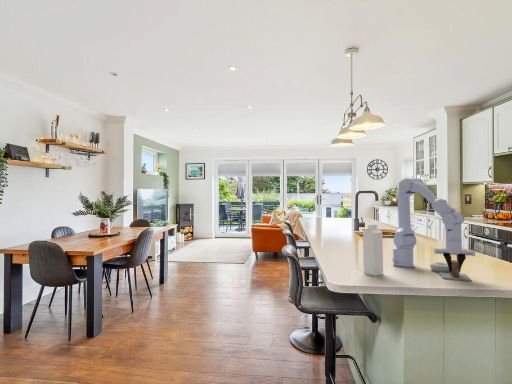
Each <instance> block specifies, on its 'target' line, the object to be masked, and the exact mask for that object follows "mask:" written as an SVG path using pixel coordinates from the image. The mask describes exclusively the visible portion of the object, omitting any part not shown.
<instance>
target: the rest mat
mask: <svg viewBox="0 0 512 384" xmlns="http://www.w3.org/2000/svg"><path fill="white" fill-rule="evenodd" d="M438 274H439V275H440V277H441V279H442V280H451V281H462V282H463V281H464V282H473V281H472V279H471V278H470V277H469V276H468V275H467V274H466V273H459V278H457V277H452V276H451V275H450V273H446V272H438Z"/></svg>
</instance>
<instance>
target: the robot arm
mask: <svg viewBox="0 0 512 384" xmlns="http://www.w3.org/2000/svg"><path fill="white" fill-rule="evenodd" d="M416 193H418V194H420V195H421V196H422V197H423V198H425V199H426V200H427V201H428V202H429V203H431V209H433V211H435V212H436V214H438V215H439V216H440V217H441V221H442V224H444V228H445V248H433V254H435V255H437V254H439V255H441V254H442V255H443V257H444V259H445V263H447V264H448V268H449V271H450V272H452V267H451V260H452V256H451V255H453V256H455V255H456V261H457V262H458V263H459V273H461V270H462V265H463V264H464V262H465V260H466V259H467V256H472V257H475V256H476V251H475V250H468V249H463V244H462V243H463V242H462V239H463V238H462V237H463V235H462V225H463V223H465V216H464V214H463V212H461V211H458V210H456V209H455V208H454V207H452V206H451V205H450V204H448V200H447V199H443V198H438V197H437V196H436V194H435V193H434V192H433V191H432V190H431V189H430V188H429V187H428V186H427V185H426V182H424V181H423V180H422V179H421V178H407V177H406V178H402V179H401V180H400V181H398V191H397V196H396V197H397V198H396V199H397V217H398V219H397V220H398V229H396V230H395V232H394V237H393V244H394V246H395V247H392V255H393V256H392V263H393V266H394V267H403V268H404V267H406V268H415V267H416V266H415V263H414V248H415V246H416V245H417V238H416V236H415V231H414V230H413V229H412V225H411V224H412V223H411V221H412V220H411V204H410V201H411V200H410V198H411V197H412V196H414V194H416Z"/></svg>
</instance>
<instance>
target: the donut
mask: <svg viewBox="0 0 512 384" xmlns="http://www.w3.org/2000/svg"><path fill="white" fill-rule="evenodd" d="M429 267H430V269H431V270H432V271H434V272H437V273H439V272H446V273H450V271H449V268H448V264H447V262H441V261H434V262H431V263H430V265H429Z"/></svg>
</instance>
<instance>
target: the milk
mask: <svg viewBox="0 0 512 384" xmlns="http://www.w3.org/2000/svg"><path fill="white" fill-rule="evenodd" d="M383 239H384V238H383V231H381V230H380V229H379V228H378V224H370V225H368V226H367V229H365V230H363V231H362V252H363V253H362V254H363V255H362V256H363V274H366V275H370V276H372V277H373V276H374V277H376V276H380V275H384V250H383V249H384V248H383V246H384V245H383V244H384V242H383V241H384V240H383Z"/></svg>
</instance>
